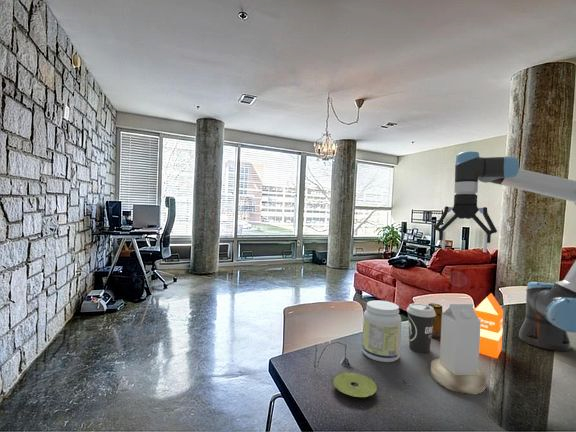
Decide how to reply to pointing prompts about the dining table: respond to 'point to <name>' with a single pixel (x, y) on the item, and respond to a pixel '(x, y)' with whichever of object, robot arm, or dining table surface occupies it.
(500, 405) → the dining table surface
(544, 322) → the robot arm
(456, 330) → the milk carton
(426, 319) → the coffee cup
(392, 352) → the supplement tub
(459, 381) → the birch stand
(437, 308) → the condiment
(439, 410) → the dining table surface
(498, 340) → the orange juice
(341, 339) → the dining table surface
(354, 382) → the green disc
